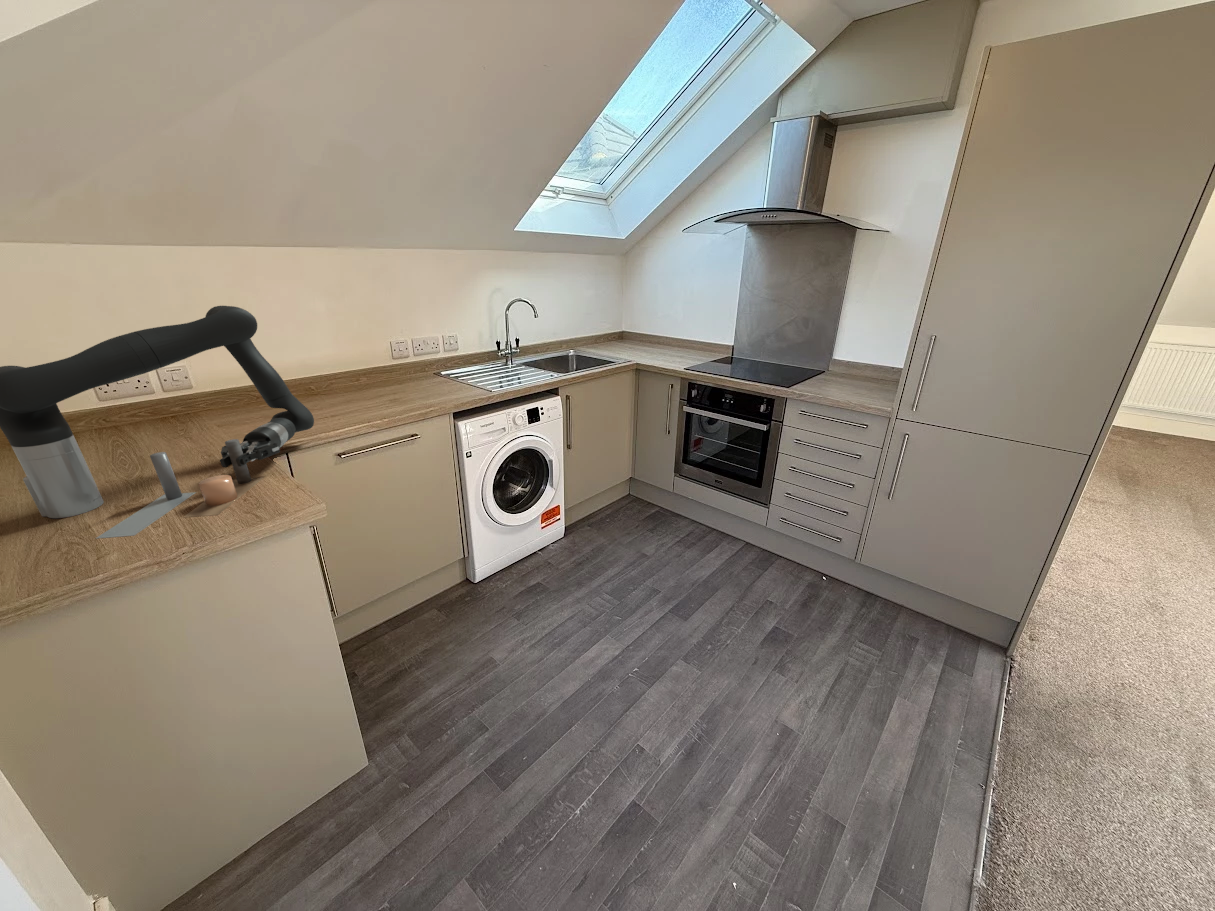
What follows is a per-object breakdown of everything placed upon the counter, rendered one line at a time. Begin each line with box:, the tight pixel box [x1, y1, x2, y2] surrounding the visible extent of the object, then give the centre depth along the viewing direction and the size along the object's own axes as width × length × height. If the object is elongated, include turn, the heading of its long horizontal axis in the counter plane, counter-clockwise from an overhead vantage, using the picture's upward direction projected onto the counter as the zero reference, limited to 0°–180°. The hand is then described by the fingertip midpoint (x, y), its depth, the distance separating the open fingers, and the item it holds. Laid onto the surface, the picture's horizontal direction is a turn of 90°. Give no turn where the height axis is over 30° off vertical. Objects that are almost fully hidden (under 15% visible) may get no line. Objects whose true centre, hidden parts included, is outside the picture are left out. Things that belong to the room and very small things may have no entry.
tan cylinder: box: [198, 474, 237, 506], centre depth 111 cm, size 6×6×5 cm
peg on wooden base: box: [182, 438, 264, 519], centre depth 112 cm, size 7×20×12 cm, turn 9°
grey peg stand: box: [95, 451, 197, 540], centre depth 104 cm, size 7×20×12 cm, turn 9°
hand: (231, 463), depth 116 cm, fingers closed on peg on wooden base, 3 cm apart
